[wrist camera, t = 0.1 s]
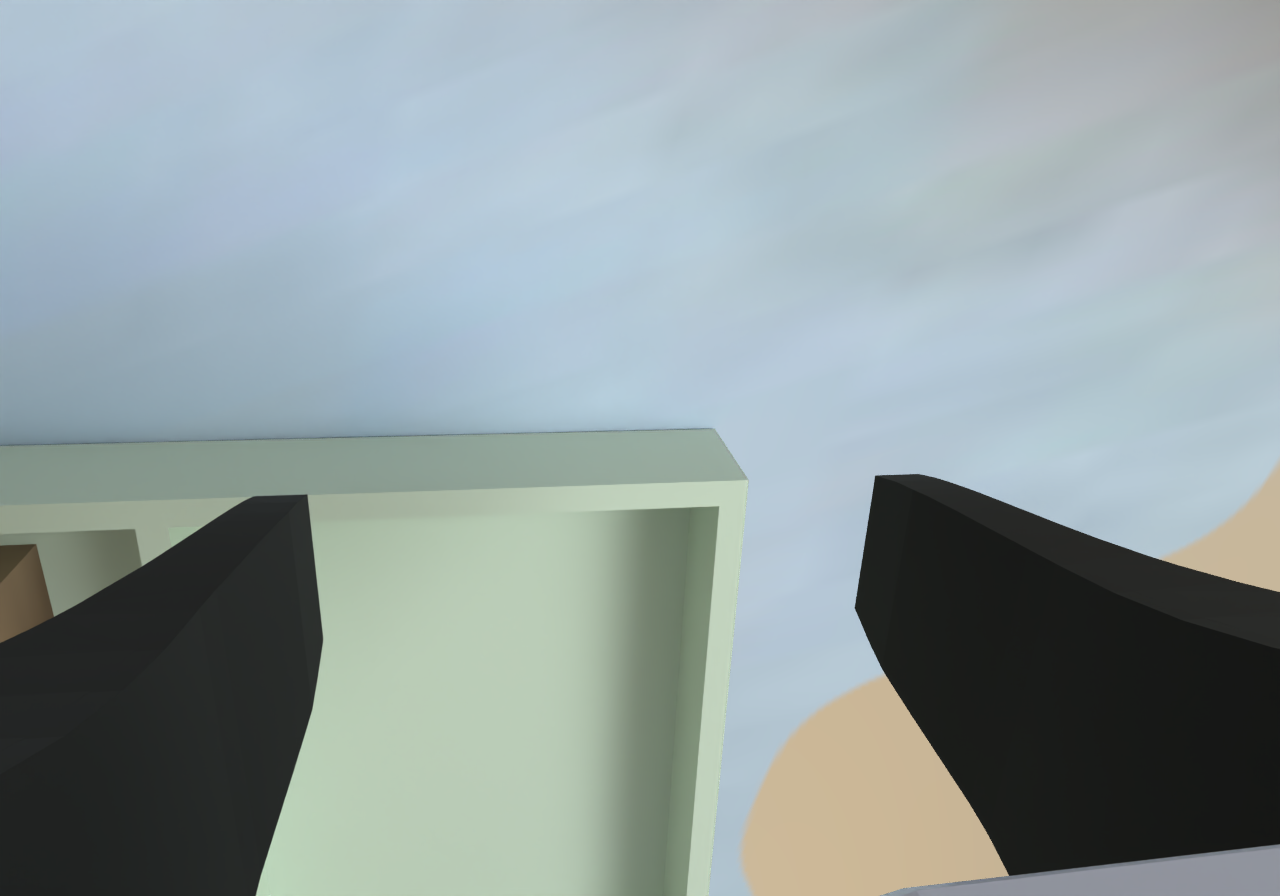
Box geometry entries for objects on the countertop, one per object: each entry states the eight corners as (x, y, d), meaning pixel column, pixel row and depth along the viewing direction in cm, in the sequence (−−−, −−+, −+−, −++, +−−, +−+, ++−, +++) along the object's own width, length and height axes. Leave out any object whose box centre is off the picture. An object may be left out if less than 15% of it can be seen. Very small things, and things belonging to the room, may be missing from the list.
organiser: (673, 948, 29) (694, 1040, 26) (-176, 1054, 25) (-256, 1175, 22) (715, 428, 22) (748, 480, 19) (-453, 456, 18) (-618, 526, 15)
